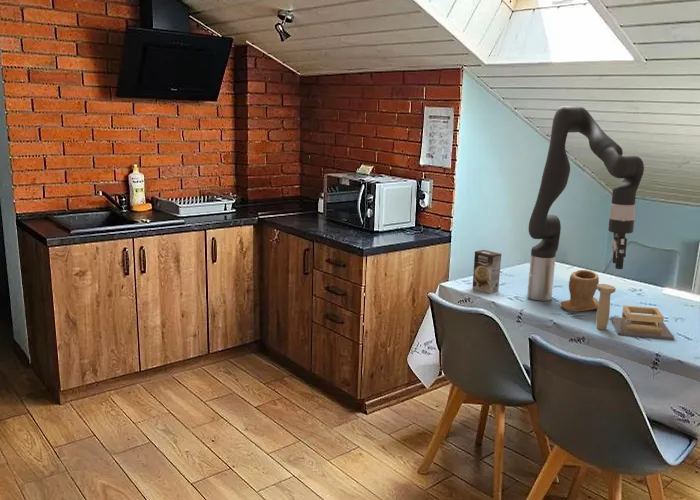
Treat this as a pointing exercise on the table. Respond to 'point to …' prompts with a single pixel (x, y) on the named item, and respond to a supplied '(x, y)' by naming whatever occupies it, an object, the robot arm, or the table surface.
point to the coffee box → (486, 271)
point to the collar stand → (641, 323)
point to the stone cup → (582, 291)
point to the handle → (604, 305)
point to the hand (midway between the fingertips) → (617, 266)
